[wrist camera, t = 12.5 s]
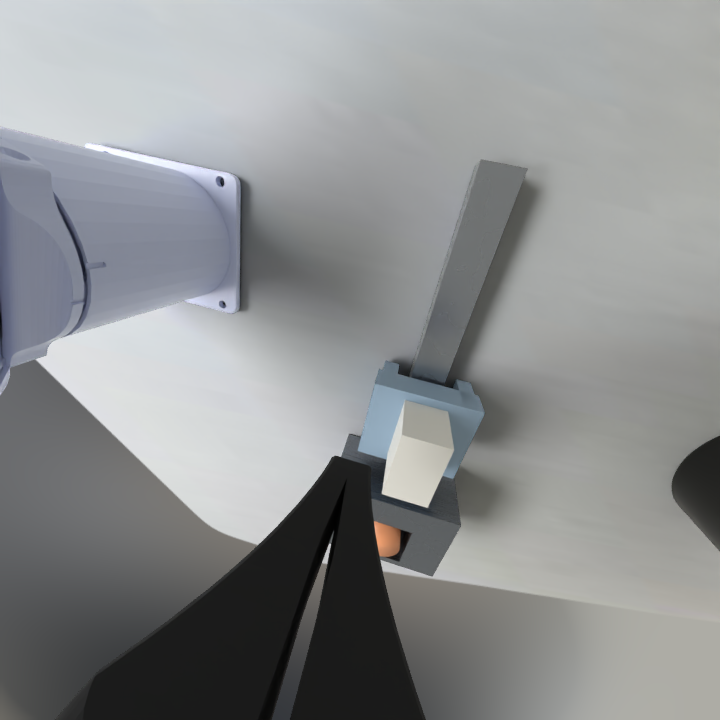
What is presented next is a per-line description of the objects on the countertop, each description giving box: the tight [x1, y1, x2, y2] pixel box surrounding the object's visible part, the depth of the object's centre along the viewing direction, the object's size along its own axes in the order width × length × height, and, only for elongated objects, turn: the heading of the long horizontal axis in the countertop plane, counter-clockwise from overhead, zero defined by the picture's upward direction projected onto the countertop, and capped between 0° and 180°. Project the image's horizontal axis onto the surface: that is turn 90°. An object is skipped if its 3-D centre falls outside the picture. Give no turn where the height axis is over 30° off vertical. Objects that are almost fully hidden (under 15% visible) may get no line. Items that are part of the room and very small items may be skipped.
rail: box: [409, 160, 527, 386], centre depth 17 cm, size 2×18×2 cm, turn 168°
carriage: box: [358, 361, 485, 508], centre depth 16 cm, size 6×5×6 cm
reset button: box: [374, 521, 401, 557], centre depth 20 cm, size 2×2×4 cm
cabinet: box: [329, 434, 461, 576], centre depth 21 cm, size 8×6×5 cm
